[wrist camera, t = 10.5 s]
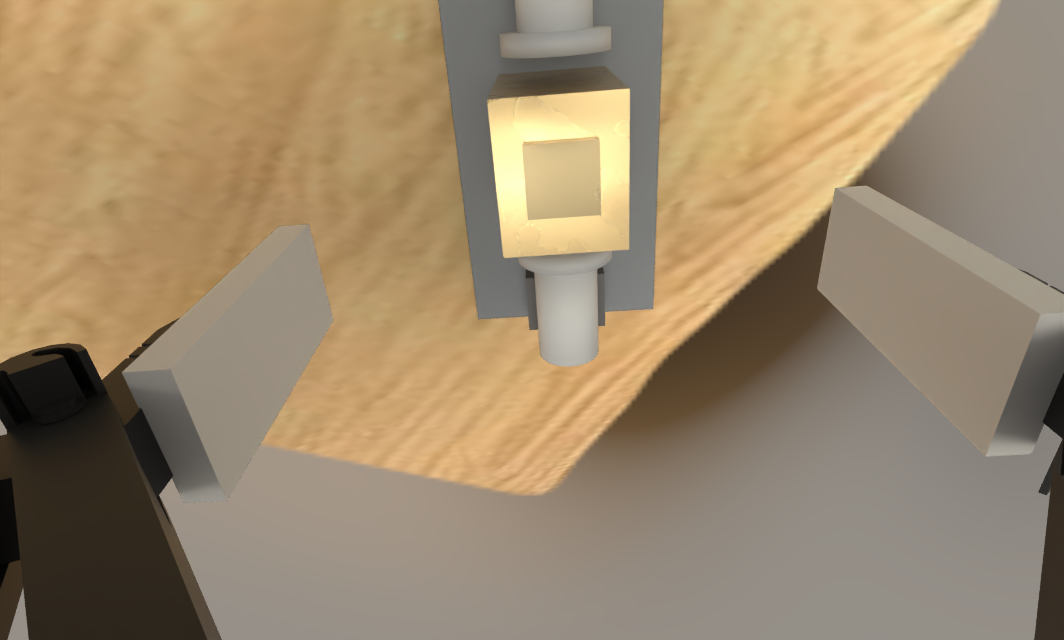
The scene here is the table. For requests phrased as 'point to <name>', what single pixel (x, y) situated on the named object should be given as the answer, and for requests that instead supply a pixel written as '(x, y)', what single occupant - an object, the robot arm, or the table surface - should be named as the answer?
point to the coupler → (561, 161)
